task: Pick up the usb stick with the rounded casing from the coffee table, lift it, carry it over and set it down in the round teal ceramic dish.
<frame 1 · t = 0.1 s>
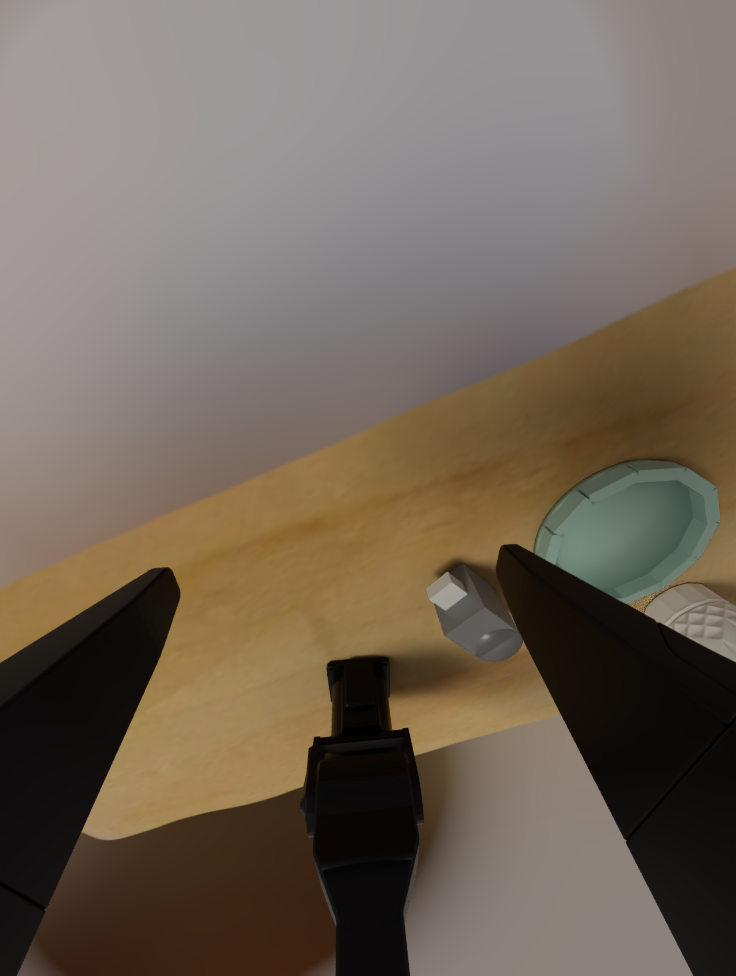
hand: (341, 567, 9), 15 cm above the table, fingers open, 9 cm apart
dish: (613, 533, 28), on the table
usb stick: (461, 587, 30), on the table
white cup: (673, 605, 33), on the table
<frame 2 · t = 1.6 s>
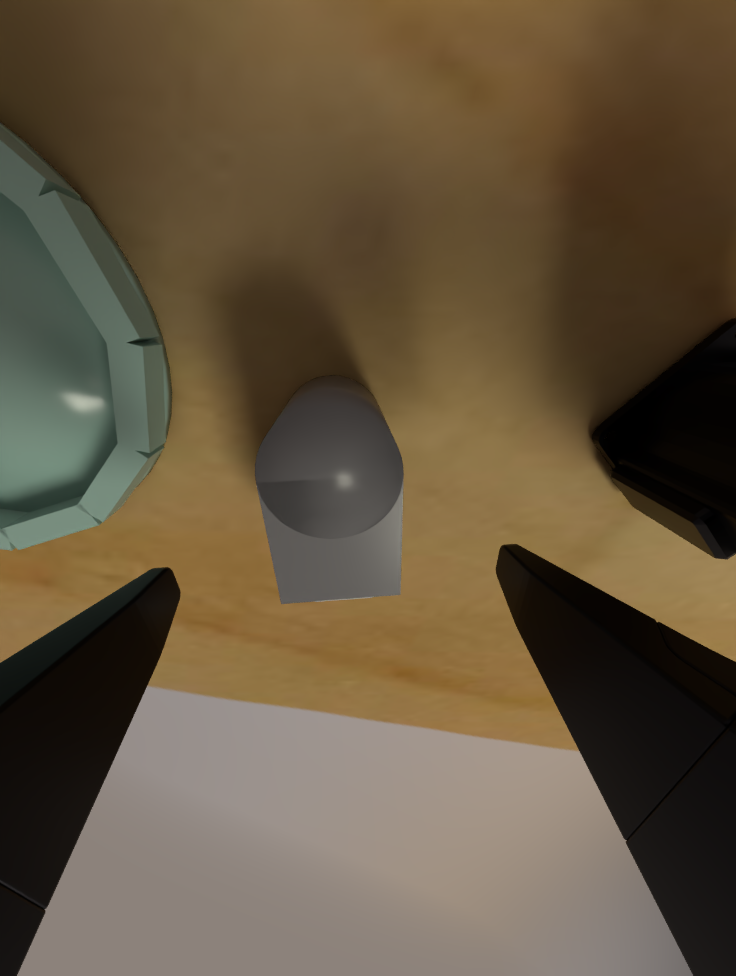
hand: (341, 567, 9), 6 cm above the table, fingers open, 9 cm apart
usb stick: (337, 476, 14), on the table
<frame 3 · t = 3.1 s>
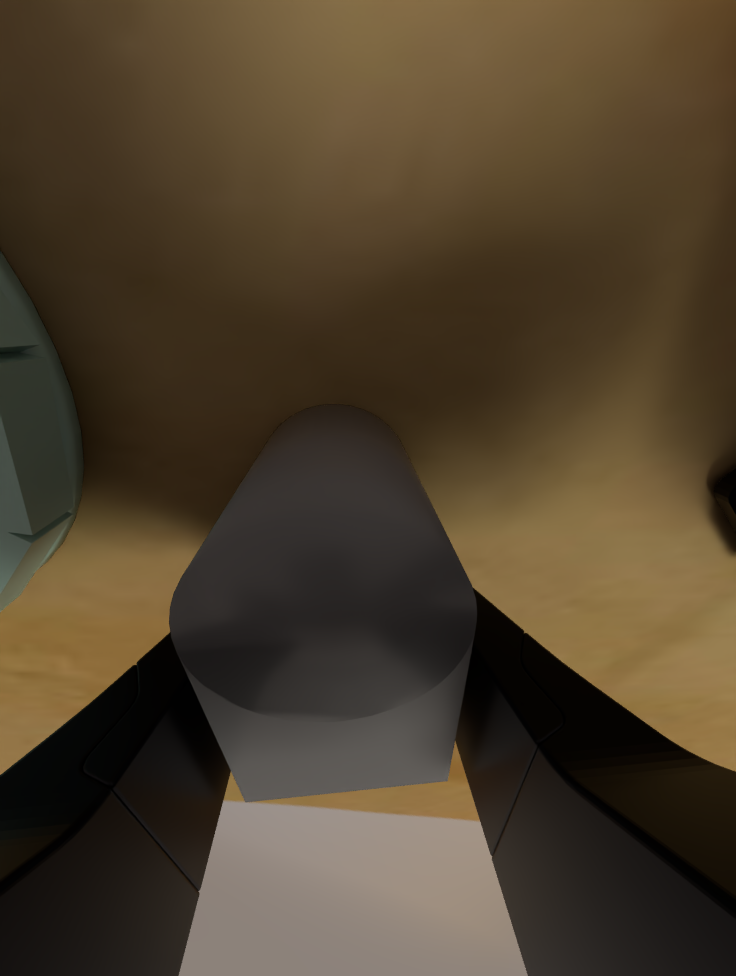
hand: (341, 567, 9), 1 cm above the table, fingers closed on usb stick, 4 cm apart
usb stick: (341, 545, 10), on the table, touching gripper
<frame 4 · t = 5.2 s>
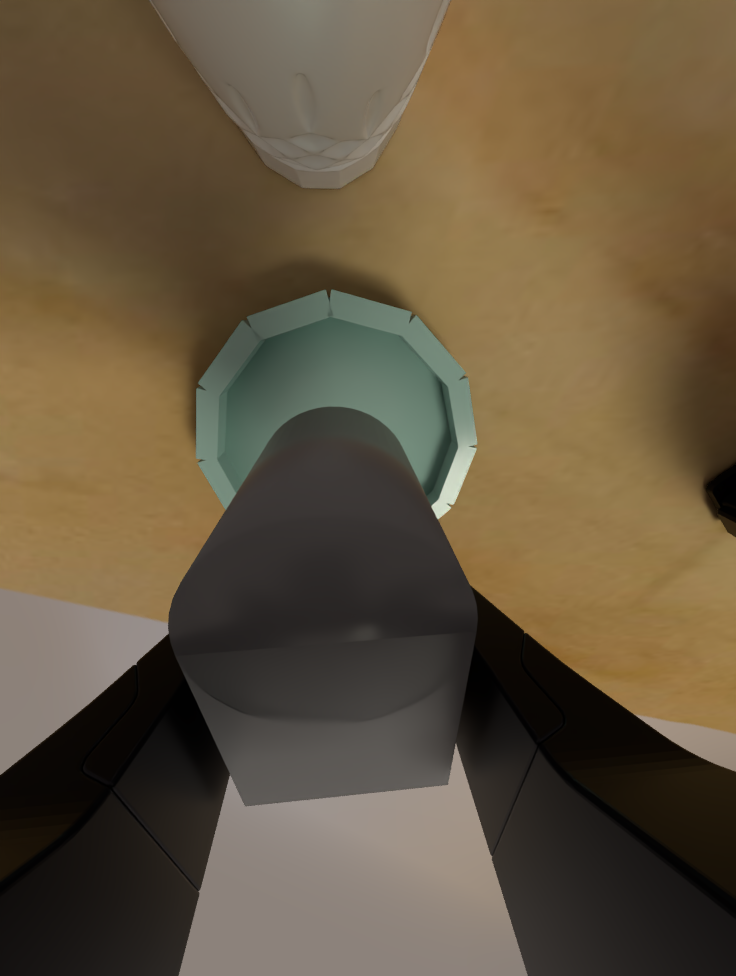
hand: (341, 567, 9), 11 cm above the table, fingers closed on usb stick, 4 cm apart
dish: (340, 441, 18), on the table
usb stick: (341, 547, 10), point 10 cm above the table, touching gripper
white cup: (315, 74, 12), on the table
when the fingers open (3 cm above the table, at t = 7.2 s): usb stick drops 1 cm, resting on dish.
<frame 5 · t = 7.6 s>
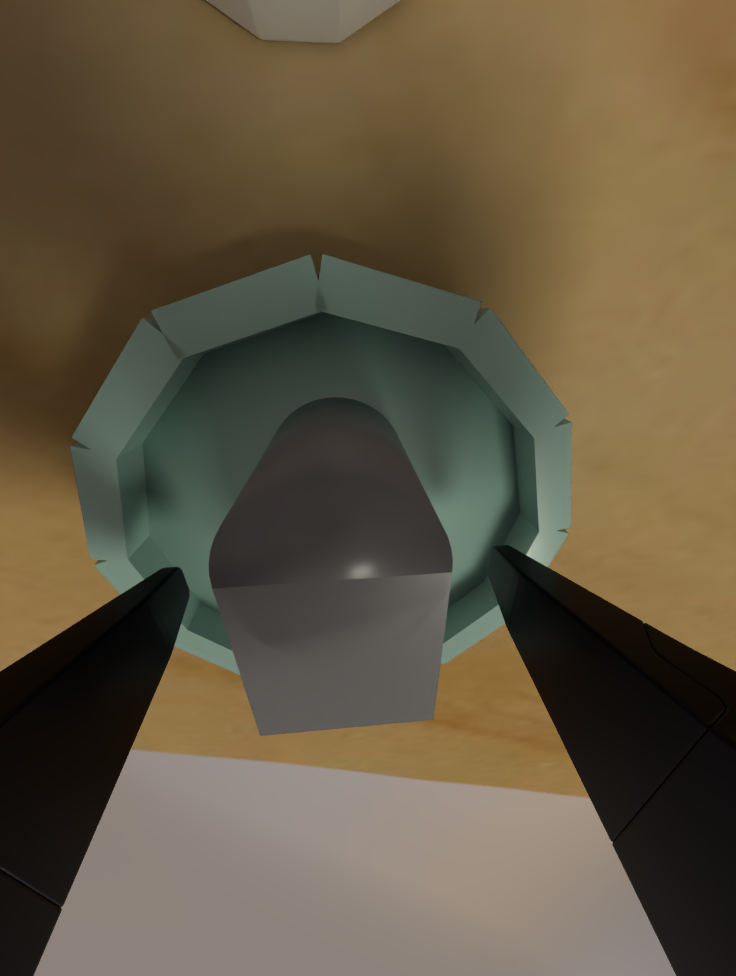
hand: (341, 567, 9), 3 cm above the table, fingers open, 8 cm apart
dish: (340, 513, 11), on the table
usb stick: (342, 525, 11), point 1 cm above the table, touching dish
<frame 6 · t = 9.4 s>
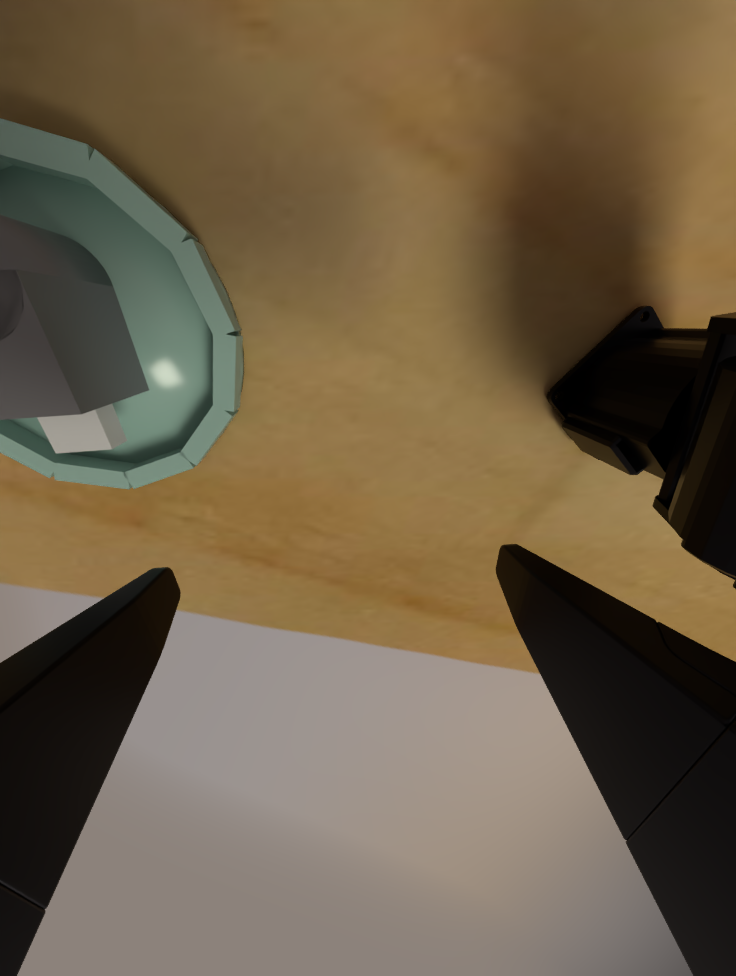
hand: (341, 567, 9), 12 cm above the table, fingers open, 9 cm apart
dish: (94, 341, 16), on the table
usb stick: (88, 344, 15), point 1 cm above the table, touching dish
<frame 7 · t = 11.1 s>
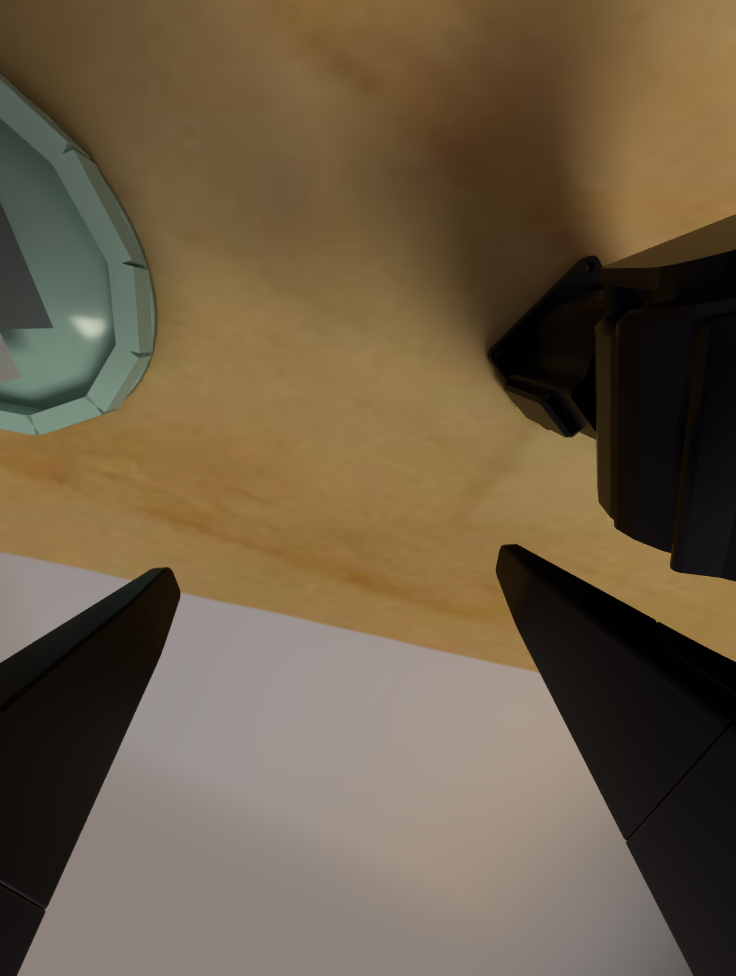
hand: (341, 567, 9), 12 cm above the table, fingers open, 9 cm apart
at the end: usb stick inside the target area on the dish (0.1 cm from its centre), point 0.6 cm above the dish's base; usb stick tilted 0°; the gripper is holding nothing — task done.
